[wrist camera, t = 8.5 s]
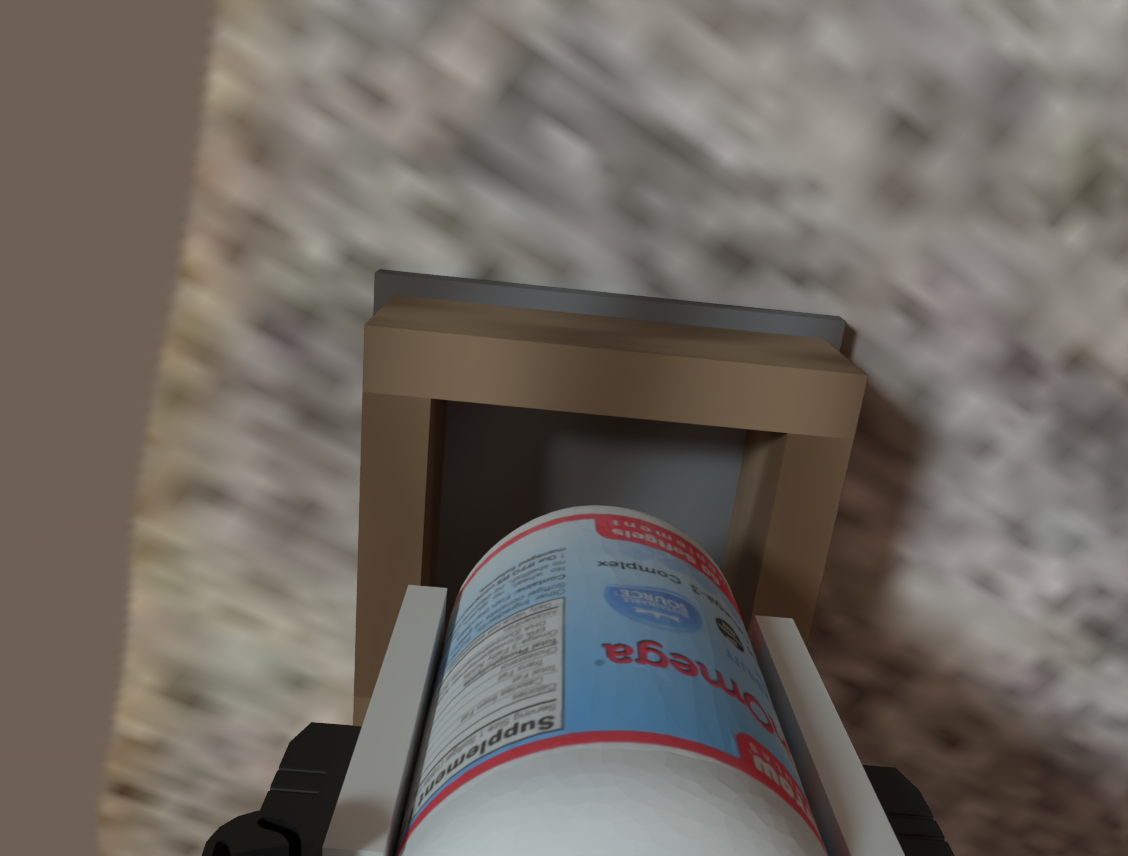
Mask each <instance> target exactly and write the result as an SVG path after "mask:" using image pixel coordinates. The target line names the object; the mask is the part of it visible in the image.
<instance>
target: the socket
mask: <svg viewBox="0 0 1128 856" xmlns="http://www.w3.org/2000/svg"><path fill="white" fill-rule="evenodd" d="M845 324H846V321H845V320H844V319H842V318H841V317H839V316H830V315H821V314H811V313H801V312H791V311H782V310H772V309H762V308H752V307H742V306H733V305H723V304H713V303H703V302H694V301H684V300H674V299H664V298H654V297H645V296H635V295H625V294H615V293H606V292H596V291H586V290H576V289H566V288H557V287H547V286H537V285H527V284H518V283H508V282H498V281H488V280H478V279H469V278H459V277H449V276H439V275H430V274H420V273H410V272H400V271H391V270H381V269H379V270H378V271H377V272H376V273H375V283H374V314H373V317H372V318H371V319H370V320H369V321H368V322H367V323H366V324H365V326H364V361H363V396H362V431H361V467H360V502H359V537H358V572H357V607H356V642H355V678H354V713H353V726H362V725H363V722H364V719H365V716H366V713H367V710H368V707H369V704H370V701H371V697H372V694H373V691H374V688H375V685H376V682H377V679H378V676H379V673H380V670H381V667H382V664H383V661H384V658H385V655H386V652H387V649H388V646H389V642H390V639H391V636H392V633H393V630H394V627H395V624H396V621H397V618H398V615H399V612H400V609H401V606H402V603H403V600H404V597H405V594H406V591H407V588H408V585H417V586H428V587H440V588H447V599H446V613H445V628H444V641H445V636H446V631H447V627H448V623H449V619H450V616H451V613H452V610H453V607H454V604H455V601H456V598H457V596H458V593H459V591H460V589H461V587H462V585H463V583H464V582H465V580H466V578H467V577H468V575H469V574H470V572H471V571H472V570H473V568H474V567H475V566H476V564H477V563H478V562H479V561H480V560H481V559H482V557H483V556H484V555H485V554H486V553H487V552H488V551H489V550H490V549H491V548H492V547H493V546H494V545H496V544H497V543H498V542H499V541H500V540H502V539H503V538H504V537H506V536H507V535H508V534H510V533H511V532H512V531H514V530H516V529H517V528H519V527H521V526H522V525H524V524H526V523H527V522H529V521H531V520H533V519H535V518H538V517H540V516H543V515H546V514H548V513H551V512H554V511H558V510H561V509H565V508H570V507H576V506H590V505H601V506H616V507H623V508H628V509H633V510H637V511H640V512H644V513H647V514H649V515H652V516H654V517H657V518H659V519H661V520H664V521H666V522H668V523H670V524H671V525H673V526H675V527H677V528H678V529H680V530H681V531H683V532H684V533H685V534H687V535H688V536H690V537H691V538H692V539H693V540H694V541H695V542H697V543H698V544H699V545H700V546H701V547H702V548H703V549H704V550H705V551H706V552H707V553H708V554H709V555H710V557H711V558H712V559H713V561H714V562H715V563H716V565H717V566H718V567H719V569H720V570H721V572H722V574H723V575H724V577H725V579H726V581H727V583H728V585H729V587H730V589H731V592H732V594H733V596H734V599H735V601H736V603H737V606H738V609H739V612H740V615H741V617H742V620H743V623H744V626H745V629H746V631H747V634H748V637H749V640H750V638H751V633H752V628H753V623H754V618H755V615H758V616H770V617H781V618H792V619H793V620H794V623H795V625H796V627H797V629H798V631H799V633H800V635H801V637H802V639H803V642H804V644H805V646H806V648H807V644H808V640H809V635H810V631H811V627H812V622H813V618H814V613H815V609H816V604H817V600H818V596H819V591H820V587H821V582H822V578H823V573H824V569H825V565H826V560H827V556H828V551H829V547H830V543H831V538H832V534H833V529H834V525H835V520H836V516H837V512H838V507H839V503H840V498H841V494H842V489H843V485H844V481H845V476H846V472H847V467H848V463H849V458H850V454H851V450H852V445H853V441H854V436H855V432H856V427H857V423H858V419H859V414H860V410H861V405H862V401H863V396H864V392H865V388H866V383H867V379H868V375H867V374H866V373H865V372H863V371H862V370H861V369H860V368H859V367H857V366H856V365H855V364H854V363H852V362H851V361H850V360H849V359H848V358H846V357H845V356H844V355H843V354H841V353H840V348H841V343H842V338H843V333H844V329H845ZM443 645H444V643H443Z"/></svg>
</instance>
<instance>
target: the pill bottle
mask: <svg viewBox="0 0 1128 856" xmlns="http://www.w3.org/2000/svg"><path fill="white" fill-rule="evenodd" d="M394 856H828V854H827V851H826V849H825V846H824V844H823V841H822V839H821V836H820V833H819V830H818V827H817V825H816V822H815V819H814V817H813V814H812V811H811V809H810V806H809V803H808V800H807V798H806V795H805V792H804V789H803V786H802V784H801V781H800V778H799V775H798V771H797V768H796V765H795V763H794V760H793V757H792V755H791V752H790V750H789V747H788V745H787V742H786V740H785V737H784V734H783V731H782V729H781V726H780V723H779V720H778V718H777V715H776V712H775V709H774V706H773V704H772V701H771V698H770V695H769V692H768V689H767V686H766V684H765V681H764V678H763V676H762V673H761V670H760V668H759V665H758V662H757V659H756V656H755V654H754V651H753V648H752V645H751V642H750V640H749V637H748V634H747V631H746V629H745V626H744V623H743V620H742V617H741V615H740V612H739V609H738V606H737V603H736V601H735V599H734V596H733V594H732V592H731V589H730V587H729V585H728V583H727V581H726V579H725V577H724V575H723V574H722V572H721V570H720V569H719V567H718V566H717V565H716V563H715V562H714V561H713V559H712V558H711V557H710V555H709V554H708V553H707V552H706V551H705V550H704V549H703V548H702V547H701V546H700V545H699V544H698V543H697V542H695V541H694V540H693V539H692V538H691V537H690V536H688V535H687V534H685V533H684V532H683V531H681V530H680V529H678V528H677V527H675V526H673V525H671V524H670V523H668V522H666V521H664V520H661V519H659V518H657V517H654V516H652V515H649V514H647V513H644V512H640V511H637V510H633V509H628V508H623V507H616V506H601V505H590V506H576V507H570V508H565V509H561V510H558V511H554V512H551V513H548V514H546V515H543V516H540V517H538V518H535V519H533V520H531V521H529V522H527V523H526V524H524V525H522V526H521V527H519V528H517V529H516V530H514V531H512V532H511V533H510V534H508V535H507V536H506V537H504V538H503V539H502V540H500V541H499V542H498V543H497V544H496V545H494V546H493V547H492V548H491V549H490V550H489V551H488V552H487V553H486V554H485V555H484V556H483V557H482V559H481V560H480V561H479V562H478V563H477V564H476V566H475V567H474V568H473V570H472V571H471V572H470V574H469V575H468V577H467V578H466V580H465V582H464V583H463V585H462V587H461V589H460V591H459V593H458V596H457V598H456V601H455V604H454V607H453V610H452V613H451V616H450V619H449V623H448V627H447V631H446V636H445V641H444V645H443V649H442V654H441V658H440V662H439V667H438V671H437V676H436V680H435V685H434V689H433V693H432V698H431V701H430V705H429V709H428V713H427V717H426V722H425V725H424V730H423V735H422V740H421V744H420V748H419V752H418V756H417V760H416V764H415V769H414V773H413V777H412V782H411V786H410V790H409V795H408V799H407V803H406V807H405V812H404V816H403V820H402V824H401V828H400V832H399V837H398V842H397V846H396V851H395V855H394Z"/></svg>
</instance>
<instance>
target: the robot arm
mask: <svg viewBox="0 0 1128 856" xmlns="http://www.w3.org/2000/svg"><path fill="white" fill-rule="evenodd" d="M446 599H447V588H440V587H428V586H417V585H408V588H407V591H406V594H405V597H404V600H403V603H402V606H401V609H400V612H399V615H398V618H397V621H396V624H395V627H394V630H393V633H392V636H391V639H390V642H389V646H388V649H387V652H386V655H385V658H384V661H383V664H382V667H381V670H380V673H379V676H378V679H377V682H376V685H375V688H374V691H373V694H372V697H371V701H370V704H369V707H368V710H367V713H366V716H365V719H364V722H363V725H362V726H351V725H339V724H327V723H314V722H311V723H310V724H309V725H308V726H307V727H306V728H305V729H304V730H303V731H301V732H300V733H299V734H298V735H297V736H296V737H295V738H294V739H293V740H292V741H291V742H290V743H289V745H288V747H287V750H286V752H285V754H284V757H283V759H282V761H281V763H280V766H279V771H277V773H276V775H275V777H274V779H273V782H272V784H271V787H270V791H268V793H267V795H266V798H265V800H264V802H263V805H262V807H261V809H260V811H255V812H252V813H248V814H245V815H241V816H238V817H236V818H234V819H232V820H231V821H229V822H227V823H226V824H224V825H222V826H221V827H219V828H218V829H217V831H216V832H215V833H214V834H213V835H212V836H211V837H210V838H209V840H208V841H207V842H206V844H205V847H204V850H203V853H202V856H394V855H395V851H396V846H397V842H398V837H399V832H400V828H401V824H402V820H403V816H404V812H405V807H406V803H407V799H408V795H409V790H410V786H411V782H412V777H413V773H414V769H415V764H416V760H417V756H418V752H419V748H420V744H421V740H422V735H423V730H424V725H425V722H426V717H427V713H428V709H429V705H430V701H431V698H432V693H433V689H434V685H435V680H436V676H437V671H438V667H439V662H440V658H441V654H442V649H443V643H444V628H445V613H446ZM750 642H751V645H752V648H753V651H754V654H755V656H756V659H757V662H758V665H759V668H760V670H761V673H762V676H763V678H764V681H765V684H766V686H767V689H768V692H769V695H770V698H771V701H772V704H773V706H774V709H775V712H776V715H777V718H778V720H779V723H780V726H781V729H782V731H783V734H784V737H785V740H786V742H787V745H788V747H789V750H790V752H791V755H792V757H793V760H794V763H795V765H796V768H797V771H798V775H799V778H800V781H801V784H802V786H803V789H804V792H805V795H806V798H807V800H808V803H809V806H810V809H811V811H812V814H813V817H814V819H815V822H816V825H817V827H818V830H819V833H820V836H821V839H822V841H823V844H824V846H825V849H826V851H827V854H828V856H955V855H954V854H953V852H952V850H951V848H950V846H949V844H948V842H945V841H944V835H943V833H942V831H941V830H940V828H939V826H938V824H937V822H936V821H934V820H933V815H932V813H931V811H930V809H929V807H928V806H927V804H926V802H925V800H924V798H923V796H922V794H921V793H920V791H919V790H918V789H917V788H916V787H915V786H914V785H913V784H912V783H911V782H910V781H909V780H908V779H907V778H906V777H905V776H904V775H903V774H901V773H900V772H899V771H898V770H897V769H896V768H892V767H880V766H868V765H862V764H861V762H860V760H859V758H858V756H857V753H856V751H855V749H854V747H853V745H852V743H851V741H850V739H849V737H848V734H847V732H846V730H845V728H844V726H843V724H842V722H841V720H840V718H839V715H838V713H837V711H836V709H835V707H834V705H833V703H832V701H831V699H830V696H829V694H828V692H827V690H826V688H825V686H824V684H823V682H822V680H821V677H820V675H819V673H818V671H817V669H816V667H815V665H814V663H813V661H812V658H811V656H810V654H809V652H808V650H807V648H806V646H805V644H804V642H803V639H802V637H801V635H800V633H799V631H798V629H797V627H796V625H795V623H794V620H793V619H792V618H781V617H770V616H758V615H755V618H754V623H753V628H752V633H751V638H750Z"/></svg>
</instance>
